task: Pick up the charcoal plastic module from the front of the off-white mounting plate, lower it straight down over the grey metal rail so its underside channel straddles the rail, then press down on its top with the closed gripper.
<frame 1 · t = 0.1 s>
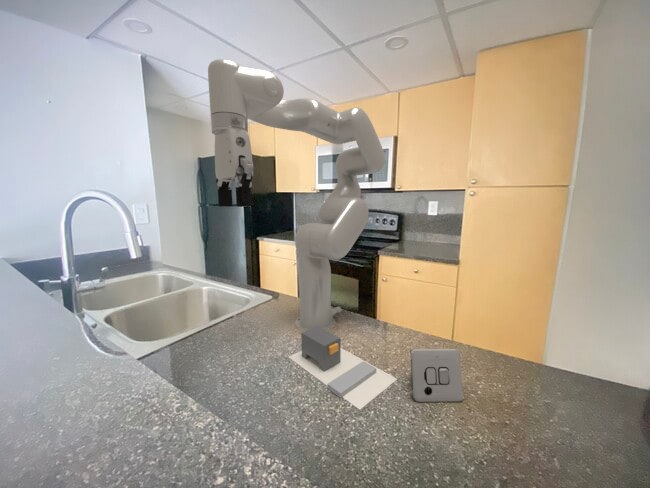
hand: (234, 206, 59), 37 cm above the table, tool pointing down, fingers open, 9 cm apart
module: (320, 359, 61), point 1 cm above the table, touching mounting plate
electrical switch: (431, 393, 52), on the table
mounting plate: (338, 372, 58), on the table
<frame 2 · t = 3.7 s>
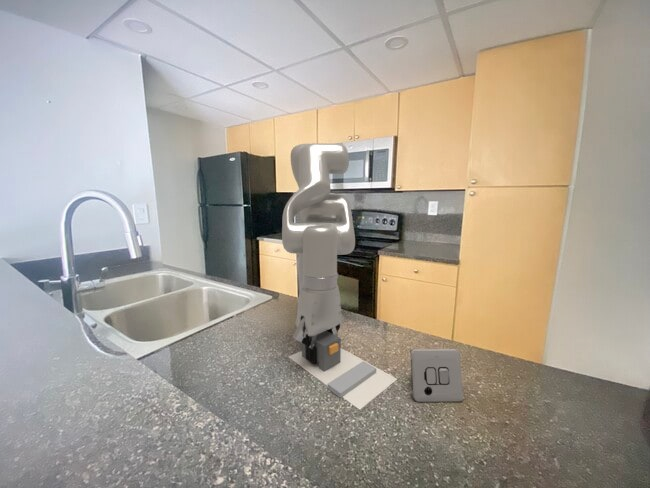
hand: (320, 356, 61), 2 cm above the table, tool pointing down, fingers closed on module, 5 cm apart
module: (320, 359, 61), point 1 cm above the table, touching gripper, mounting plate
everything else where it was.
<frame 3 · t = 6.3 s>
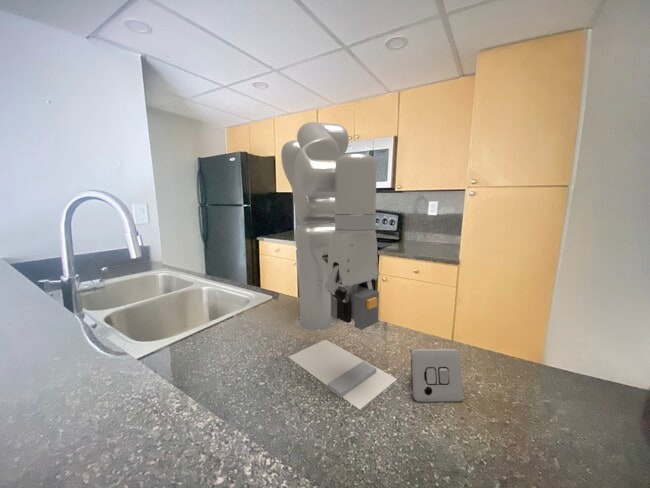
hand: (353, 315, 52), 15 cm above the table, tool pointing down, fingers closed on module, 5 cm apart
module: (354, 319, 52), point 15 cm above the table, touching gripper
everything else where it was.
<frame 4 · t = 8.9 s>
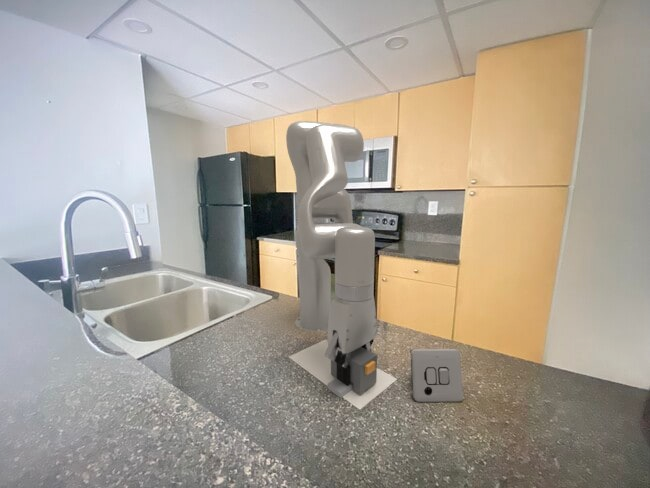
hand: (352, 374, 54), 2 cm above the table, tool pointing down, fingers closed on module, 5 cm apart
module: (353, 378, 54), point 2 cm above the table, touching gripper
everything else where it was.
when the fingers open (2 cm above the table, at t = 8.9 s): module stays where it is, resting on mounting plate.
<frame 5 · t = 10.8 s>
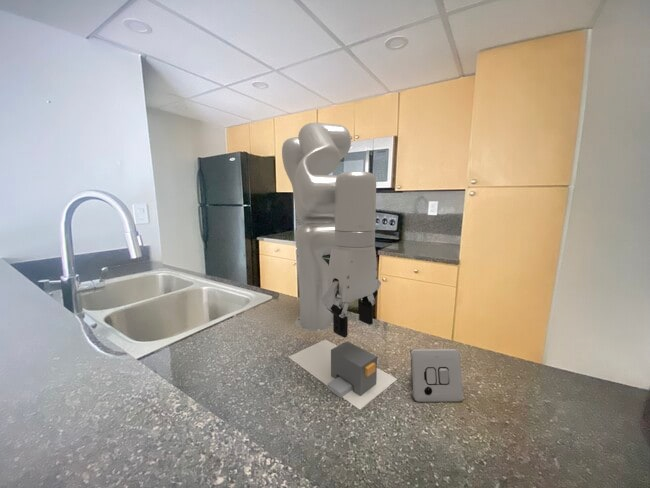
hand: (353, 327, 52), 13 cm above the table, tool pointing down, fingers open, 6 cm apart
module: (353, 380, 54), point 1 cm above the table, touching mounting plate
everything else where it was.
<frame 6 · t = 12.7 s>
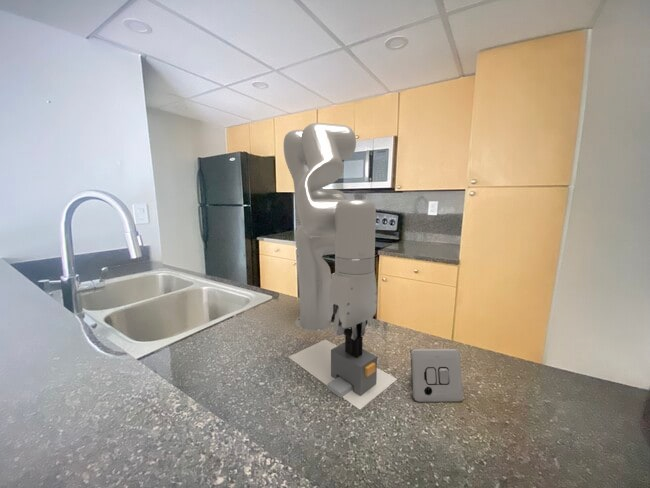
hand: (353, 353, 53), 7 cm above the table, tool pointing down, fingers closed
module: (353, 380, 54), point 1 cm above the table, touching gripper, mounting plate
everything else where it was.
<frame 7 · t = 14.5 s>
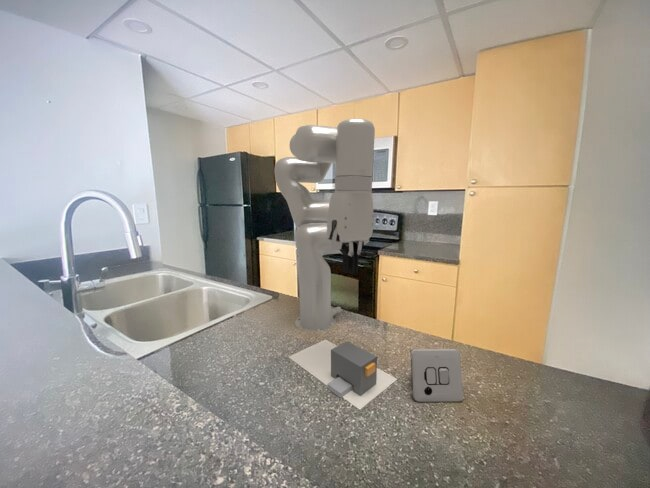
hand: (349, 272, 57), 22 cm above the table, tool pointing down, fingers closed
module: (353, 380, 54), point 1 cm above the table, touching mounting plate
everything else where it was.
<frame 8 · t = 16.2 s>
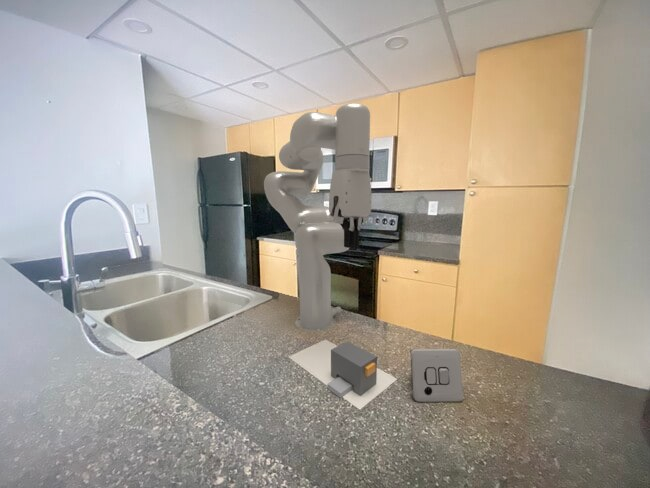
hand: (351, 247, 61), 27 cm above the table, tool pointing down, fingers closed
nothing on the table moved.
at the end: module 0.1 cm from the target spot on the mounting plate, point 1.2 cm above the mounting plate's base; module tilted 0°; the gripper is holding nothing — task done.
